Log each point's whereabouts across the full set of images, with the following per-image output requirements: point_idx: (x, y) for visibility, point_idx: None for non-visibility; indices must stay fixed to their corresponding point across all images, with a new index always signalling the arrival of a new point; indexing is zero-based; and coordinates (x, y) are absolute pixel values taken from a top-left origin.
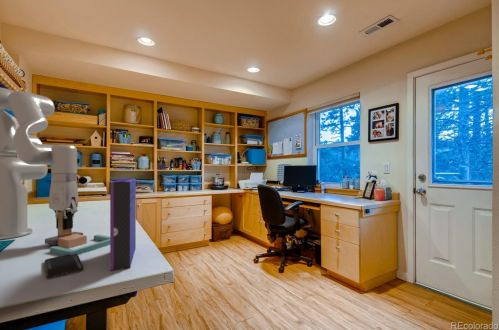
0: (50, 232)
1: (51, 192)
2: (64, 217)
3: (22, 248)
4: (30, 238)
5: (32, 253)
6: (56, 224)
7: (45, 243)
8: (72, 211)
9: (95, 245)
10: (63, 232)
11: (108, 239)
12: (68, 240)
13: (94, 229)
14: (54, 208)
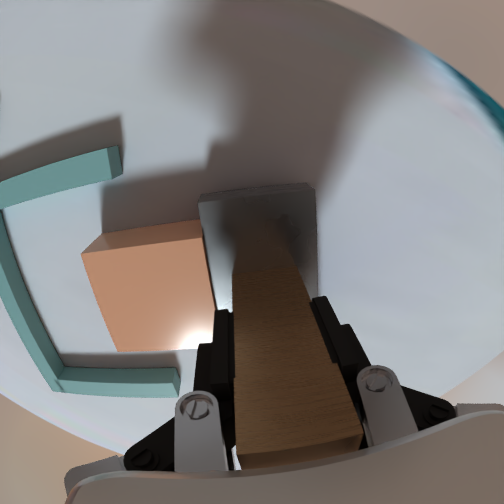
0: (495, 299)
1: None
2: (214, 404)
3: (364, 88)
4: (498, 211)
5: (185, 74)
6: (332, 316)
7: (298, 183)
8: (93, 475)
9: (5, 302)
10: (232, 298)
11: (49, 368)
12: (83, 253)
13: None
14: (365, 466)
